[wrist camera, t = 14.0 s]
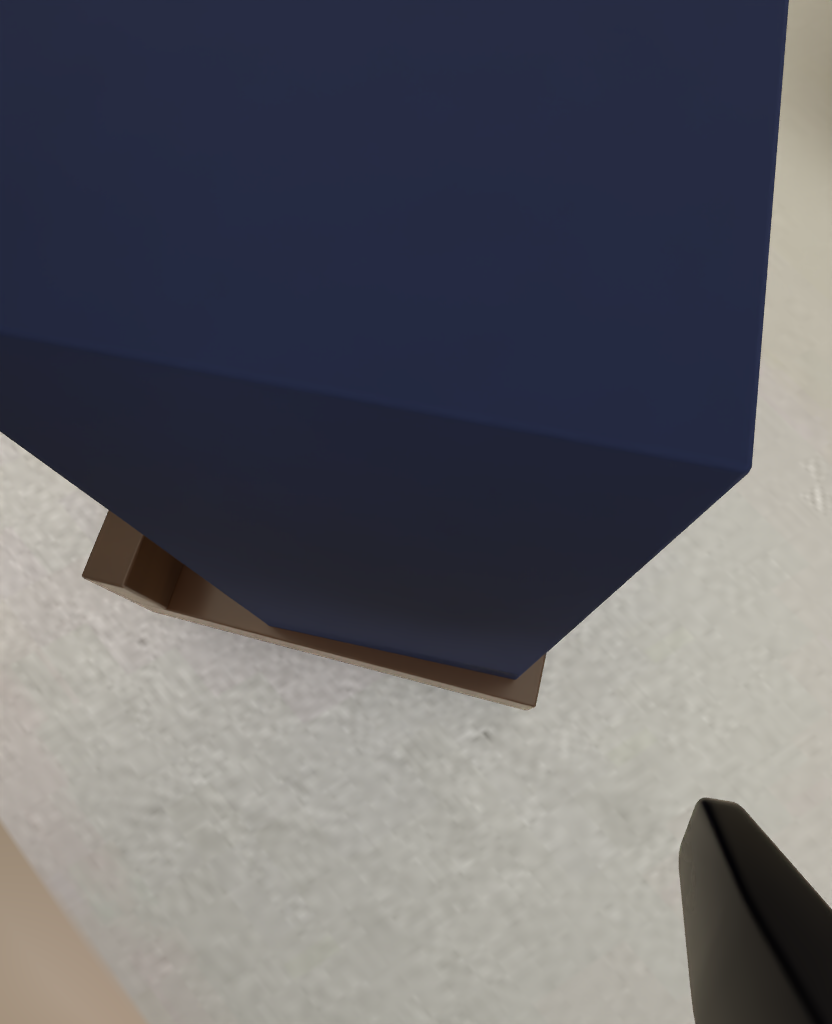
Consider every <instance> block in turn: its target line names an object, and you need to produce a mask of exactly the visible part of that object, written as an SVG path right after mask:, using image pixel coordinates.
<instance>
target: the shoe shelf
mask: <svg viewBox="0 0 832 1024" xmlns="http://www.w3.org/2000/svg"><path fill="white" fill-rule="evenodd" d="M82 577H83V578H84V579H86V580H89V581H91V582H93V583H95V584H97V585H99V586H101V587H103V588H105V589H107V590H109V591H112V592H114V593H116V594H118V595H120V596H122V597H124V598H126V599H128V600H130V601H132V602H134V603H136V604H138V605H140V606H142V607H145V608H147V609H149V610H151V611H153V612H156V613H160V614H164V615H167V616H171V617H175V618H179V619H182V620H186V621H190V622H194V623H198V624H201V625H205V626H209V627H213V628H216V629H220V630H224V631H228V632H232V633H235V634H239V635H243V636H247V637H251V638H254V639H258V640H262V641H266V642H269V643H273V644H277V645H281V646H285V647H288V648H292V649H296V650H300V651H303V652H307V653H311V654H315V655H319V656H322V657H326V658H330V659H334V660H337V661H341V662H345V663H349V664H353V665H356V666H360V667H364V668H368V669H372V670H375V671H379V672H383V673H387V674H390V675H394V676H398V677H402V678H406V679H409V680H413V681H417V682H421V683H424V684H428V685H432V686H436V687H440V688H443V689H447V690H451V691H455V692H458V693H462V694H466V695H470V696H474V697H477V698H481V699H485V700H489V701H492V702H496V703H500V704H504V705H508V706H511V707H515V708H519V709H523V710H529V709H531V708H534V707H535V706H536V702H537V697H538V692H539V687H540V682H541V677H542V672H543V667H544V662H545V657H546V653H545V654H544V655H543V656H542V657H541V658H540V659H539V660H538V661H536V662H535V663H534V664H533V665H532V666H531V667H530V668H529V669H527V670H526V671H525V672H524V673H523V674H522V675H521V676H520V677H518V678H517V679H516V680H514V679H509V678H505V677H500V676H496V675H491V674H486V673H482V672H477V671H473V670H468V669H464V668H459V667H455V666H450V665H445V664H441V663H436V662H432V661H427V660H423V659H418V658H414V657H409V656H404V655H400V654H395V653H391V652H386V651H382V650H377V649H373V648H368V647H363V646H359V645H354V644H350V643H345V642H341V641H336V640H332V639H327V638H322V637H318V636H313V635H309V634H304V633H300V632H295V631H291V630H286V629H281V628H277V627H272V626H269V625H267V624H266V623H264V622H263V621H262V620H260V619H259V618H258V617H256V616H255V615H253V614H252V613H251V612H249V611H248V610H246V609H245V608H244V607H242V606H241V605H240V604H238V603H237V602H235V601H234V600H233V599H231V598H230V597H229V596H227V595H226V594H224V593H223V592H222V591H220V590H219V589H217V588H216V587H215V586H213V585H212V584H211V583H209V582H208V581H206V580H205V579H204V578H202V577H201V576H199V575H198V574H197V573H195V572H194V571H193V570H191V569H190V568H188V567H187V566H186V565H184V564H183V563H181V562H180V561H179V560H177V559H176V558H175V557H173V556H172V555H170V554H169V553H168V552H166V551H165V550H164V549H162V548H161V547H159V546H158V545H157V544H155V543H154V542H152V541H151V540H150V539H148V538H147V537H146V536H144V535H143V534H141V533H140V532H139V531H137V530H136V529H134V528H133V527H132V526H130V525H129V524H128V523H126V522H125V521H123V520H122V519H121V518H119V517H118V516H116V515H115V514H114V513H112V512H111V511H110V510H109V511H108V513H107V516H106V518H105V520H104V523H103V525H102V528H101V530H100V533H99V535H98V537H97V540H96V542H95V545H94V547H93V549H92V552H91V554H90V557H89V559H88V562H87V564H86V566H85V569H84V571H83V574H82Z"/></svg>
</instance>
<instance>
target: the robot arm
mask: <svg viewBox="0 0 832 1024" xmlns="http://www.w3.org/2000/svg"><path fill="white" fill-rule="evenodd" d="M679 875H680V885H681V895H682V906H683V916H684V927H685V937H686V947H687V958H688V968H689V978H690V988H691V997H692V1005H693V1013H694V1018H695V1024H832V909H831V908H830V907H829V906H828V904H827V903H826V902H825V901H824V900H823V899H822V898H821V896H820V895H819V894H818V893H817V892H816V891H815V890H814V888H813V887H812V886H811V885H810V884H809V883H808V882H807V880H806V879H805V878H804V877H803V876H802V875H801V874H800V872H799V871H798V870H797V869H796V868H795V867H794V866H793V864H792V863H791V862H790V861H789V860H788V859H787V858H786V856H785V855H784V854H783V853H782V852H781V851H780V850H779V848H778V847H777V846H776V845H775V844H774V843H773V842H772V840H771V839H770V838H769V837H768V836H767V835H766V834H765V833H764V831H763V830H762V829H761V828H760V827H759V826H758V825H757V823H756V822H755V821H754V820H753V819H752V818H751V817H750V815H749V814H748V813H747V812H746V811H745V810H744V809H743V808H742V807H741V806H740V805H738V804H737V803H734V802H730V801H724V800H718V799H712V798H702V799H700V800H699V801H698V802H697V803H696V805H695V808H694V810H693V813H692V816H691V818H690V821H689V824H688V826H687V829H686V832H685V835H684V837H683V840H682V843H681V846H680V851H679Z"/></svg>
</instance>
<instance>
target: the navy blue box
mask: <svg viewBox="0 0 832 1024" xmlns="http://www.w3.org/2000/svg"><path fill="white" fill-rule="evenodd" d="M788 4H789V0H0V432H2V433H3V434H4V435H6V436H7V437H9V438H10V439H11V440H13V441H14V442H16V443H17V444H18V445H20V446H21V447H22V448H24V449H25V450H27V451H28V452H29V453H31V454H32V455H34V456H35V457H36V458H38V459H39V460H40V461H42V462H43V463H45V464H46V465H47V466H49V467H50V468H51V469H53V470H54V471H56V472H57V473H58V474H60V475H61V476H63V477H64V478H65V479H67V480H68V481H69V482H71V483H72V484H74V485H75V486H76V487H78V488H79V489H81V490H82V491H83V492H85V493H86V494H87V495H89V496H90V497H92V498H93V499H94V500H96V501H97V502H99V503H100V504H101V505H103V506H104V507H105V508H107V509H108V510H110V511H111V512H112V513H114V514H115V515H116V516H118V517H119V518H121V519H122V520H123V521H125V522H126V523H128V524H129V525H130V526H132V527H133V528H134V529H136V530H137V531H139V532H140V533H141V534H143V535H144V536H146V537H147V538H148V539H150V540H151V541H152V542H154V543H155V544H157V545H158V546H159V547H161V548H162V549H164V550H165V551H166V552H168V553H169V554H170V555H172V556H173V557H175V558H176V559H177V560H179V561H180V562H181V563H183V564H184V565H186V566H187V567H188V568H190V569H191V570H193V571H194V572H195V573H197V574H198V575H199V576H201V577H202V578H204V579H205V580H206V581H208V582H209V583H211V584H212V585H213V586H215V587H216V588H217V589H219V590H220V591H222V592H223V593H224V594H226V595H227V596H229V597H230V598H231V599H233V600H234V601H235V602H237V603H238V604H240V605H241V606H242V607H244V608H245V609H246V610H248V611H249V612H251V613H252V614H253V615H255V616H256V617H258V618H259V619H260V620H262V621H263V622H264V623H266V624H267V625H269V626H272V627H277V628H281V629H286V630H291V631H295V632H300V633H304V634H309V635H313V636H318V637H322V638H327V639H332V640H336V641H341V642H345V643H350V644H354V645H359V646H363V647H368V648H373V649H377V650H382V651H386V652H391V653H395V654H400V655H404V656H409V657H414V658H418V659H423V660H427V661H432V662H436V663H441V664H445V665H450V666H455V667H459V668H464V669H468V670H473V671H477V672H482V673H486V674H491V675H496V676H500V677H505V678H509V679H514V680H516V679H517V678H518V677H520V676H521V675H522V674H523V673H524V672H525V671H526V670H527V669H529V668H530V667H531V666H532V665H533V664H534V663H535V662H536V661H538V660H539V659H540V658H541V657H542V656H543V655H544V654H545V653H547V652H548V651H549V650H550V649H551V648H552V647H553V646H554V645H556V644H557V643H558V642H559V641H560V640H561V639H562V638H563V637H565V636H566V635H567V634H568V633H569V632H570V631H571V630H572V629H574V628H575V627H576V626H577V625H578V624H579V623H580V622H581V621H583V620H584V619H585V618H586V617H587V616H588V615H589V614H590V613H592V612H593V611H594V610H595V609H596V608H597V607H598V606H599V605H600V604H602V603H603V602H604V601H605V600H606V599H607V598H608V597H609V596H611V595H612V594H613V593H614V592H615V591H616V590H617V589H618V588H620V587H621V586H622V585H623V584H624V583H625V582H626V581H627V580H629V579H630V578H631V577H632V576H633V575H634V574H635V573H636V572H638V571H639V570H640V569H641V568H642V567H643V566H644V565H645V564H647V563H648V562H649V561H650V560H651V559H652V558H653V557H654V556H656V555H657V554H658V553H659V552H660V551H661V550H662V549H663V548H665V547H666V546H667V545H668V544H669V543H670V542H671V541H672V540H674V539H675V538H676V537H677V536H678V535H679V534H680V533H681V532H683V531H684V530H685V529H686V528H687V527H688V526H689V525H690V524H692V523H693V522H694V521H695V520H696V519H697V518H698V517H699V516H701V515H702V514H703V513H704V512H705V511H706V510H707V509H708V508H710V507H711V506H712V505H713V504H714V503H715V502H716V501H717V500H718V499H720V498H721V497H722V496H723V495H724V494H725V493H726V492H727V491H729V490H730V489H731V488H732V487H733V486H734V485H735V484H736V483H738V482H739V481H740V480H741V479H742V478H743V477H744V476H745V475H747V474H748V473H749V471H750V469H751V468H752V457H753V444H754V431H755V419H756V406H757V394H758V381H759V369H760V356H761V343H762V331H763V318H764V306H765V293H766V281H767V268H768V255H769V243H770V230H771V218H772V205H773V193H774V180H775V167H776V155H777V142H778V130H779V117H780V105H781V92H782V79H783V67H784V54H785V42H786V29H787V17H788Z"/></svg>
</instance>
